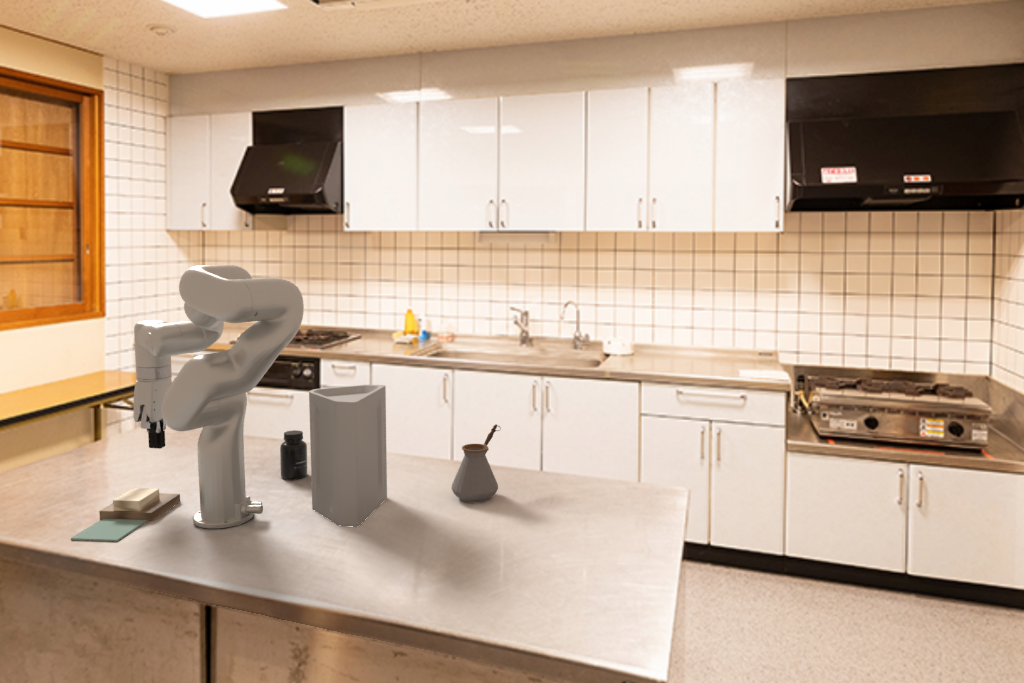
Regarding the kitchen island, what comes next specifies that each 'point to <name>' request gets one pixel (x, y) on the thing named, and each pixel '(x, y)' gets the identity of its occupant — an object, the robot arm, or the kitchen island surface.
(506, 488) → the kitchen island surface
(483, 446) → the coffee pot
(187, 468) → the kitchen island surface
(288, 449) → the supplement bottle
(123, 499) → the birch tile
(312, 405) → the grey triangular vase
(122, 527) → the rubber mat
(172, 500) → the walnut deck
